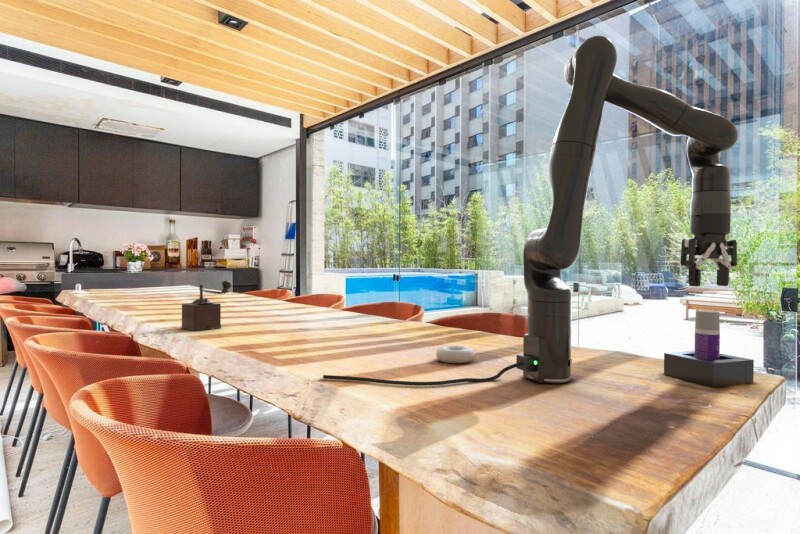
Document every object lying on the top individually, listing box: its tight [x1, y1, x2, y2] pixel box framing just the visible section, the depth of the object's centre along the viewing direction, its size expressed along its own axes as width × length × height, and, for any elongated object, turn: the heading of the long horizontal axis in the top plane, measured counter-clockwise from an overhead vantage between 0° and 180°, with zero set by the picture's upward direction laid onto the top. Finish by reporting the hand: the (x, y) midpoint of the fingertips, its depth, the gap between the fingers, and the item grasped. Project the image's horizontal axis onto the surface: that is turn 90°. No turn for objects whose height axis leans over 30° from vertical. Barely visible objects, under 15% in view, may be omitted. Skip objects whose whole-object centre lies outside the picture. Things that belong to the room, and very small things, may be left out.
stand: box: [663, 350, 755, 388], centre depth 107 cm, size 12×12×5 cm
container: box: [694, 309, 721, 361], centre depth 107 cm, size 5×5×15 cm
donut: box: [435, 345, 475, 364], centre depth 124 cm, size 10×4×10 cm
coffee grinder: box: [181, 279, 233, 332], centre depth 182 cm, size 16×11×18 cm
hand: (708, 286), depth 106 cm, fingers open, 8 cm apart
